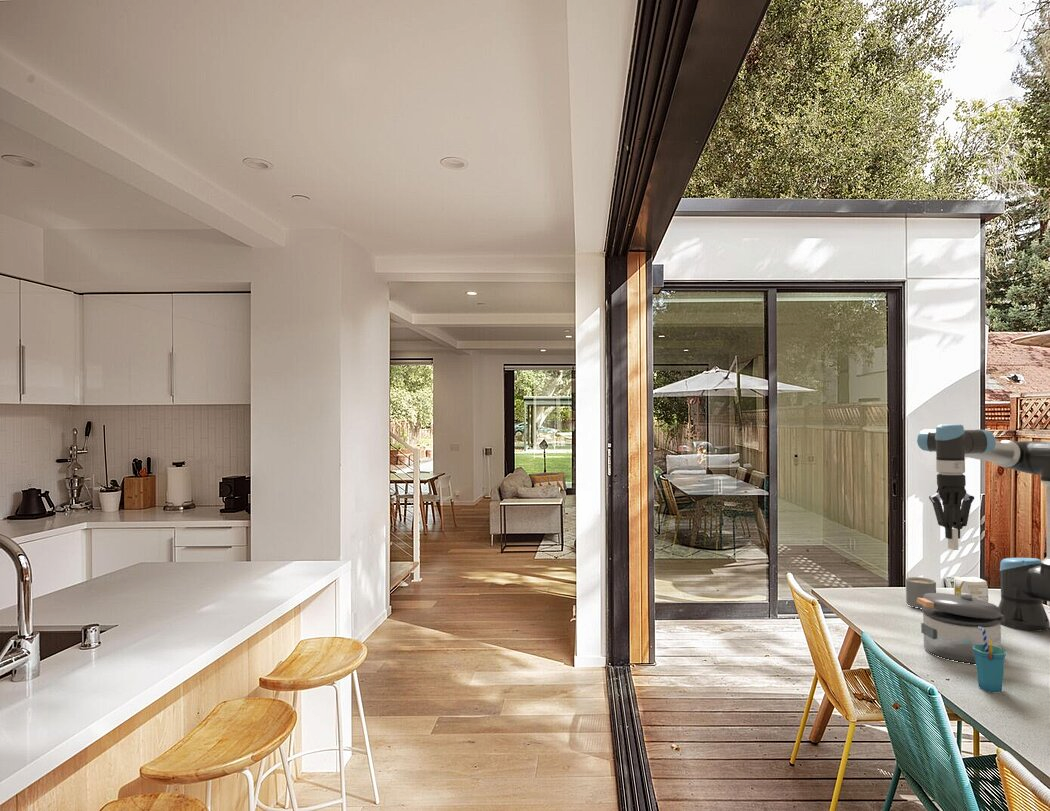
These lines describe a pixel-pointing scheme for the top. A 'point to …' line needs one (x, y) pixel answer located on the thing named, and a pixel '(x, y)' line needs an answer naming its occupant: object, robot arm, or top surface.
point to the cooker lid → (960, 605)
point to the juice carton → (971, 587)
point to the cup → (989, 665)
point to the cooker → (957, 634)
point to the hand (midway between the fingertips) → (953, 549)
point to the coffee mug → (918, 589)
